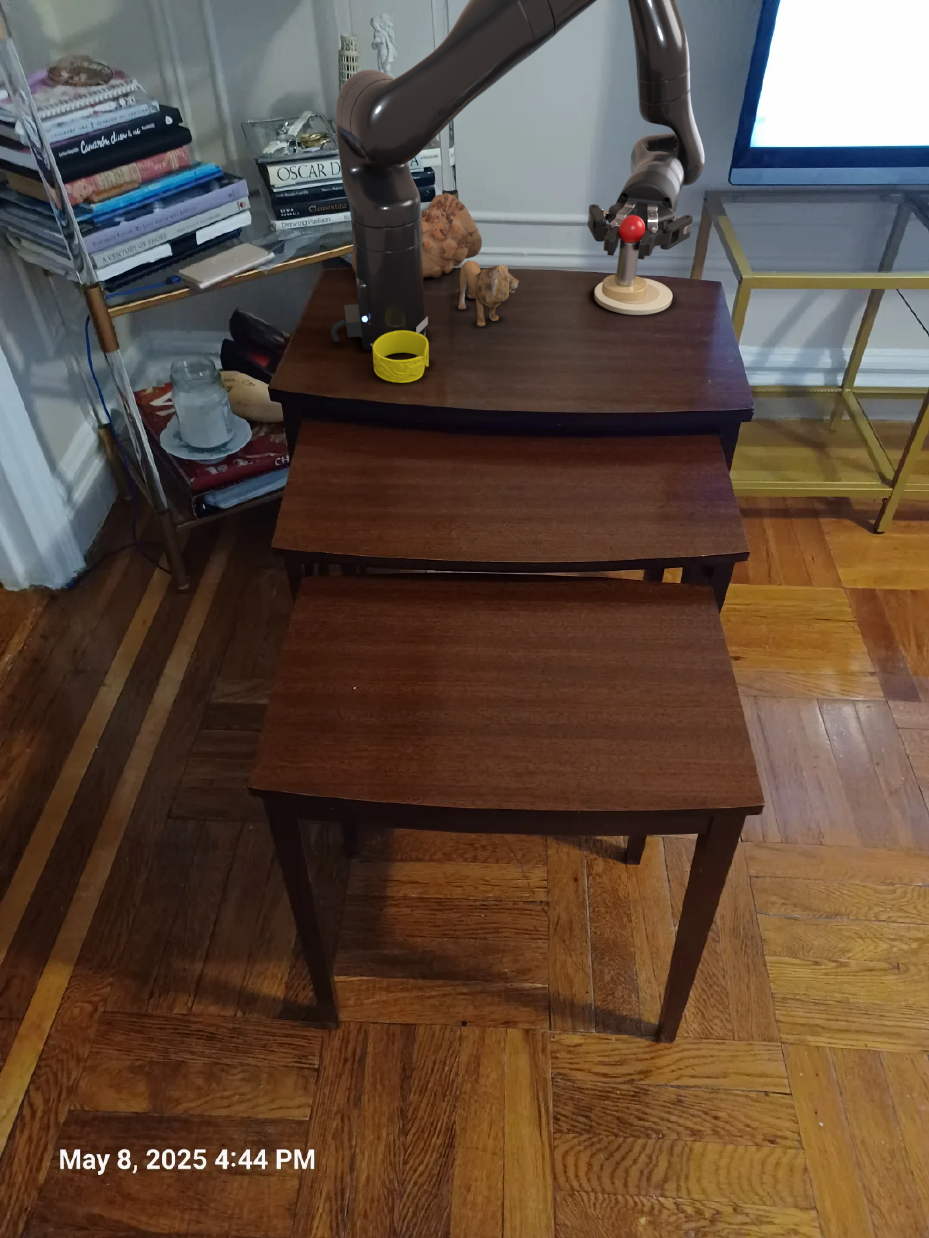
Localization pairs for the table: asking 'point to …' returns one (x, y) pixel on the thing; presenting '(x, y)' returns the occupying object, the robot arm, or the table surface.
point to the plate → (651, 303)
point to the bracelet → (400, 344)
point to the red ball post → (627, 264)
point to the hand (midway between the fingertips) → (626, 249)
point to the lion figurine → (485, 287)
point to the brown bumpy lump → (446, 236)
